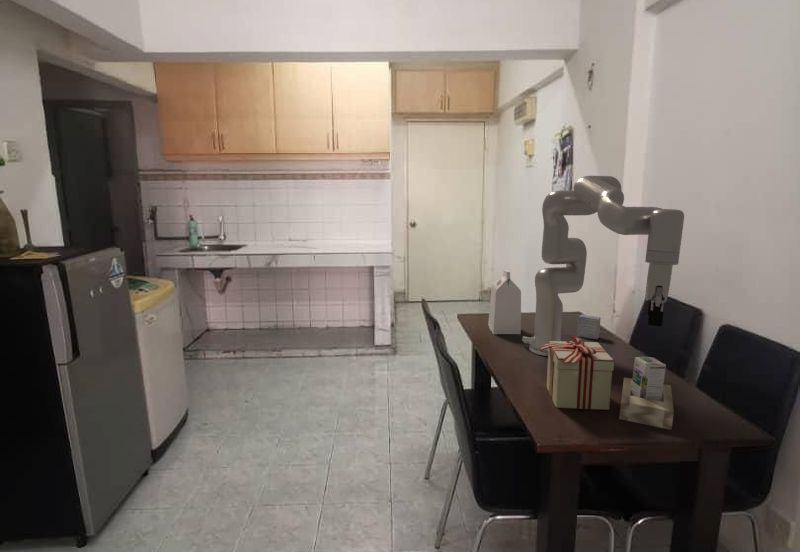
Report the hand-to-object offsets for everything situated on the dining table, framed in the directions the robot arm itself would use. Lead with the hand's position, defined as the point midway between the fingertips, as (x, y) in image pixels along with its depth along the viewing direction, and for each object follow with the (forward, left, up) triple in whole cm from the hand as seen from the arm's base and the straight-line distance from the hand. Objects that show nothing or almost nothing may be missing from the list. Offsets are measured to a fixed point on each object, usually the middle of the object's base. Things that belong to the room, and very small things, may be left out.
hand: (654, 320), depth 123 cm
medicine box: (-21, +62, -26) cm, 70 cm away
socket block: (0, 0, -26) cm, 26 cm away
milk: (-54, +54, -26) cm, 80 cm away
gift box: (-19, -3, -26) cm, 32 cm away
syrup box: (0, 0, -26) cm, 26 cm away
